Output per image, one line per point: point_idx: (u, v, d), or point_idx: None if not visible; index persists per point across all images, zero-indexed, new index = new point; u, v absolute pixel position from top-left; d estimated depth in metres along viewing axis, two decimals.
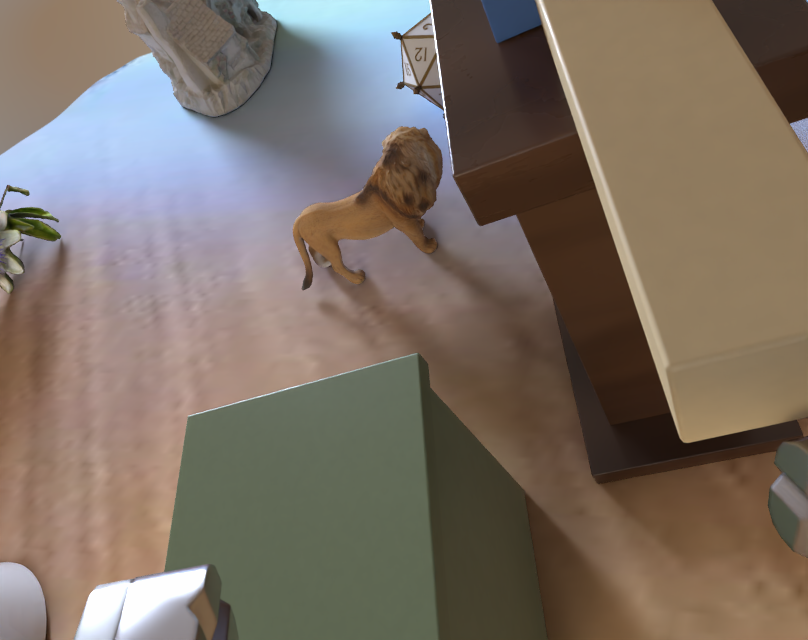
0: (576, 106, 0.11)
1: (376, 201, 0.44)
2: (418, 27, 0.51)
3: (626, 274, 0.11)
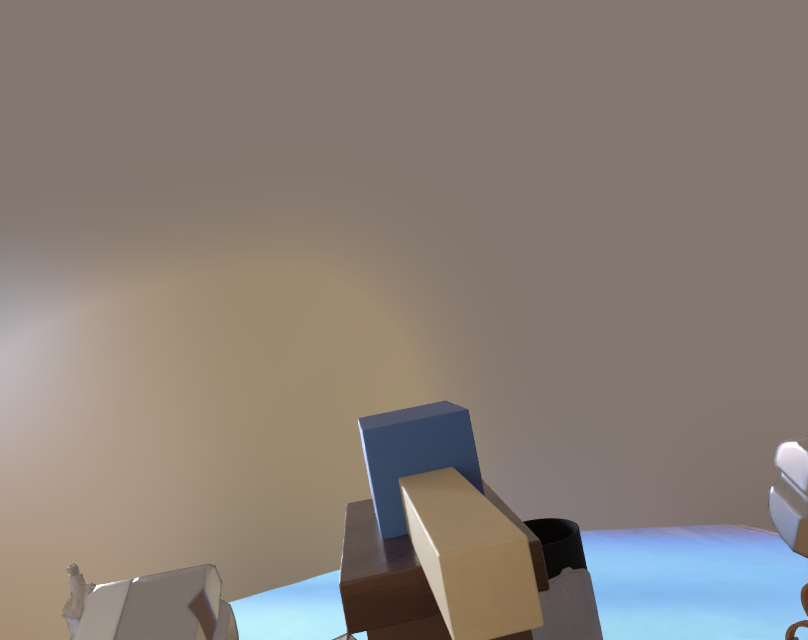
0: (415, 512, 0.23)
1: None
2: None
3: (435, 588, 0.21)
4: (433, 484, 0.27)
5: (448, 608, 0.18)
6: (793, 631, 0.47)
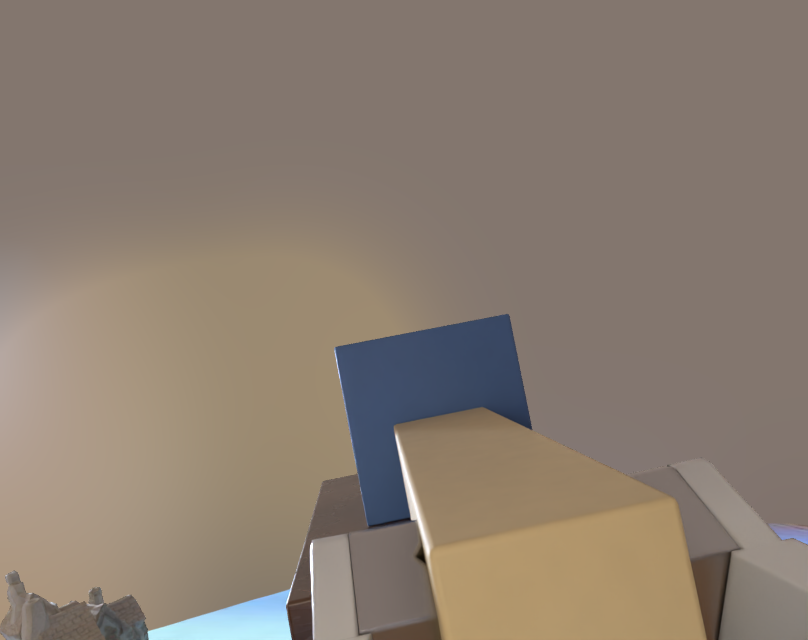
0: (404, 464, 0.11)
1: None
2: None
3: None
4: (447, 427, 0.15)
5: None
6: None
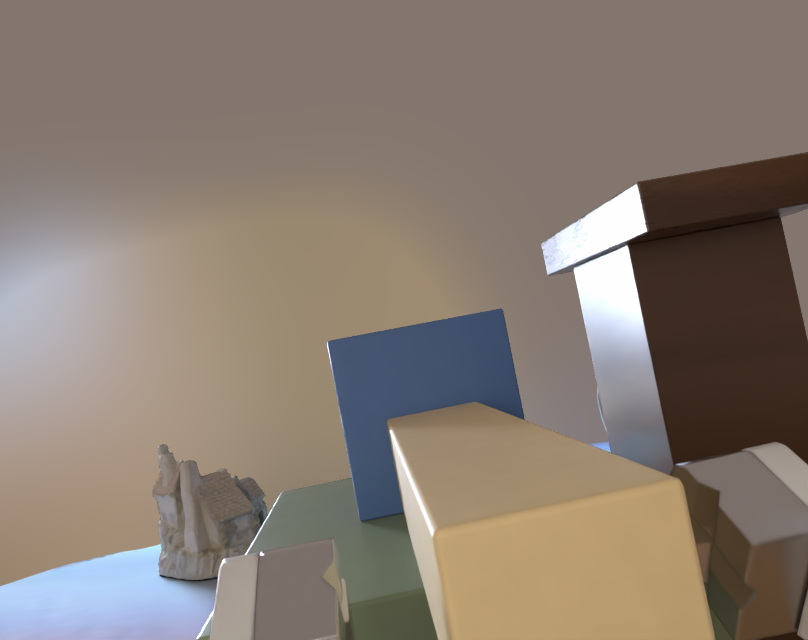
0: (401, 455, 0.11)
1: None
2: None
3: (434, 615, 0.09)
4: (442, 420, 0.15)
5: None
6: None
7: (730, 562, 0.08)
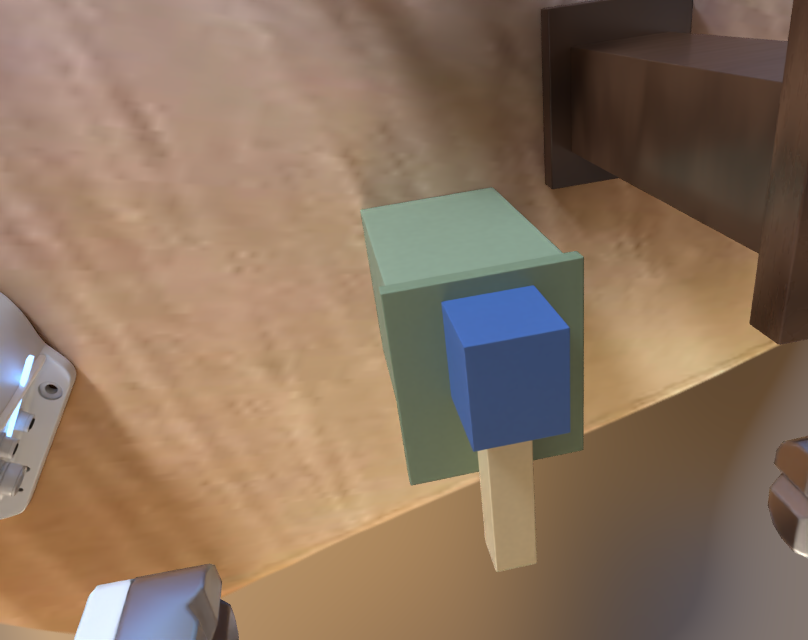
0: (491, 508, 0.37)
1: None
2: None
3: (484, 514, 0.40)
4: (509, 457, 0.35)
5: None
6: None
7: None
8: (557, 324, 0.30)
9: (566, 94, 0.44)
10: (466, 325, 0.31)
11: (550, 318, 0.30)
